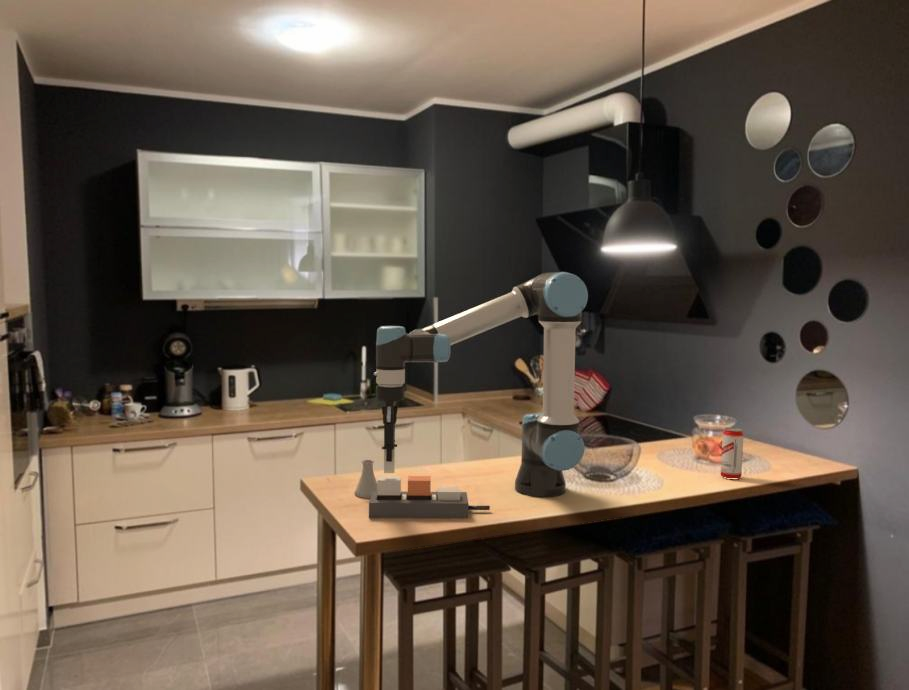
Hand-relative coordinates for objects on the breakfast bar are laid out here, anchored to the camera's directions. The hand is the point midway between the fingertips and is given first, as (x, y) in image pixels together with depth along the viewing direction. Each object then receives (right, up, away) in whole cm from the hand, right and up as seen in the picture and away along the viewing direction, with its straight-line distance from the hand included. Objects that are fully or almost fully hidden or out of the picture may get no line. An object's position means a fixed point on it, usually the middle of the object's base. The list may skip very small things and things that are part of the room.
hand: (389, 472), depth 191 cm
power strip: (+11, -11, +1) cm, 15 cm away
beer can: (+107, -9, +40) cm, 114 cm away
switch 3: (+16, -9, +1) cm, 18 cm away
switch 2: (+8, -6, +1) cm, 10 cm away
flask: (-8, -10, +16) cm, 20 cm away
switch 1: (0, -6, +1) cm, 6 cm away
